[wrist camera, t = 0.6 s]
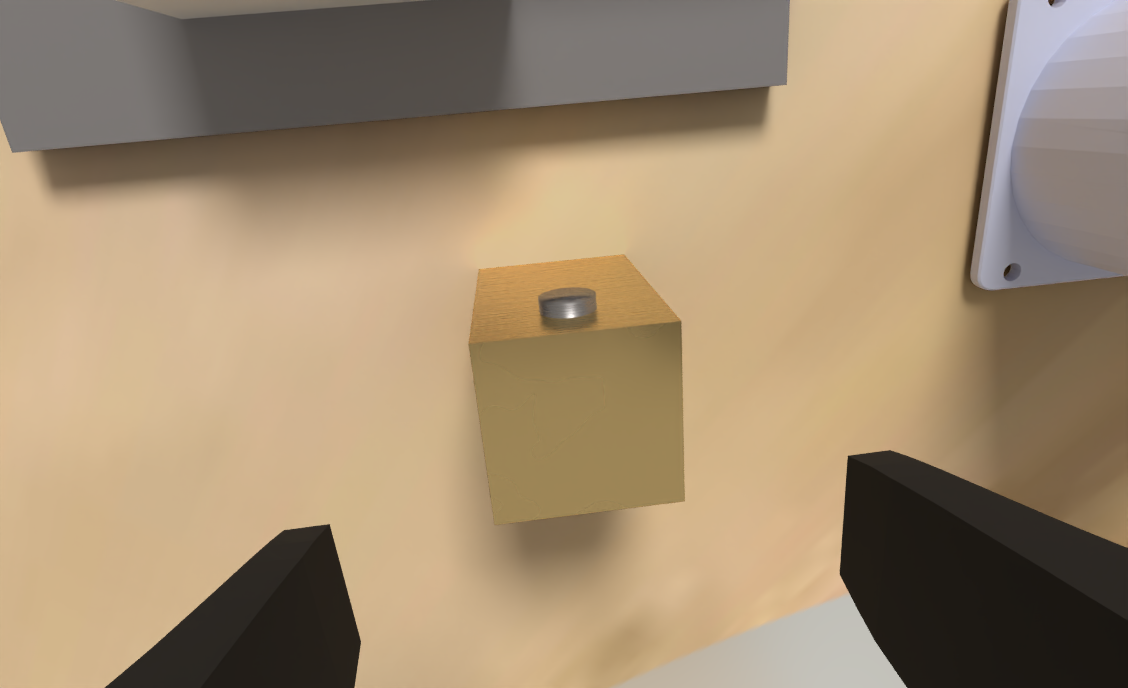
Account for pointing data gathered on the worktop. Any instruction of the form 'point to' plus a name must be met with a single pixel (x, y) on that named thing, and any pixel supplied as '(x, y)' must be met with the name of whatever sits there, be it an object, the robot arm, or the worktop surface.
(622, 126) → the worktop surface
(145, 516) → the worktop surface
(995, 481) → the worktop surface
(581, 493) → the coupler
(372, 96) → the shaft board
